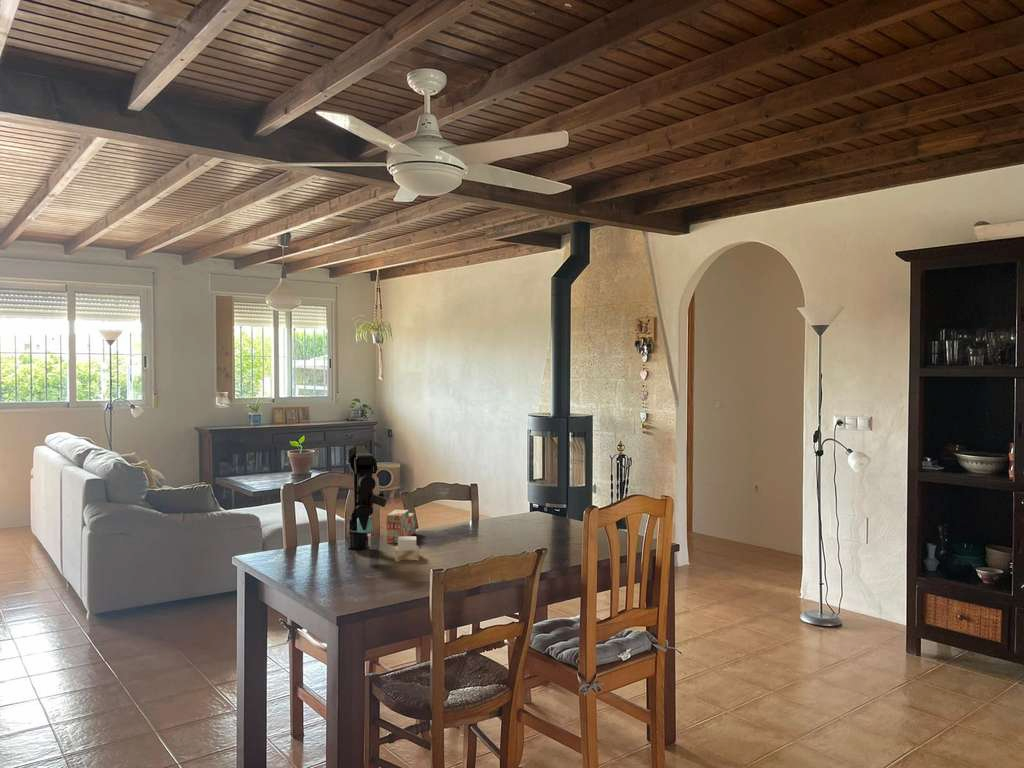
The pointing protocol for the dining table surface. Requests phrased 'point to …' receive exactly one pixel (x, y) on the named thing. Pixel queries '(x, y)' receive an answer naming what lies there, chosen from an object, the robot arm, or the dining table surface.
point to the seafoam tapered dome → (368, 528)
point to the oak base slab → (406, 554)
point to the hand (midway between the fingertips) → (364, 528)
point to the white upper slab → (407, 543)
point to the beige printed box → (399, 525)
